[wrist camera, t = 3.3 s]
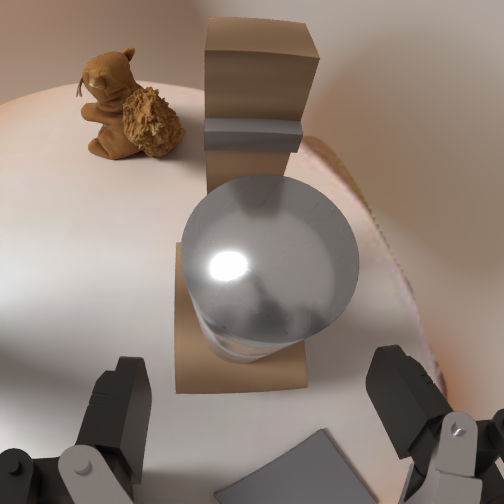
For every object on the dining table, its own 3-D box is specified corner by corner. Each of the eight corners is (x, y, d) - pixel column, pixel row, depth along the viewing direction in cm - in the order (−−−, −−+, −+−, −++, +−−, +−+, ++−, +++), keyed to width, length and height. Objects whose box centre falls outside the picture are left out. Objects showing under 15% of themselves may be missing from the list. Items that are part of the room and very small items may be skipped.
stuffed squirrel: (128, 102, 39) (112, 28, 27) (207, 136, 38) (207, 49, 26) (80, 148, 36) (47, 73, 24) (157, 191, 34) (135, 104, 22)
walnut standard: (284, 385, 28) (477, 390, 6) (187, 388, 27) (69, 431, 5) (273, 233, 33) (349, 20, 11) (187, 234, 32) (155, 7, 10)
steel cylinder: (228, 377, 20) (246, 381, 7) (189, 316, 21) (149, 220, 9) (288, 338, 22) (389, 277, 9) (249, 280, 23) (292, 152, 10)
